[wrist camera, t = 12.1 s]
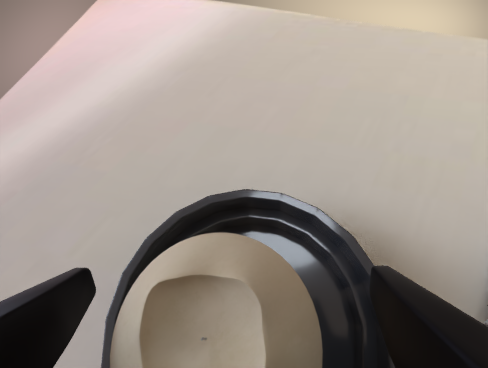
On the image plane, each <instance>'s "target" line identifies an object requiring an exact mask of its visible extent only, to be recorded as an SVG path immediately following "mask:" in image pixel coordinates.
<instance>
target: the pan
mask: <svg viewBox="0 0 488 368" xmlns="http://www.w3.org/2000/svg"><path fill="white" fill-rule="evenodd" d="M208 233H233V234H239V235H243V236H246V237H250V238H252V239H255V240H257V241H259V242H261V243H263V244H265V245H266V246H268V247H270V248H271V249H273V250H274V251H275V252H277V253H278V254H279V255H281V256H282V257H283V258H284V259H285V260H286V261H287V262H288V263H289V264H290V265H291V267H292V268H293V269H294V270H295V272H296V273H297V274H298V275H299V277H300V279H301V280H302V282H303V283H304V285H305V287H306V288H307V290H308V293H309V295H310V297H311V299H312V301H313V304H314V307H315V310H316V313H317V316H318V321H319V326H320V330H321V338H322V349H323V354H322V368H395V366H394V364H393V362H392V359H391V357H390V355H389V352H388V350H387V347H386V344H385V341H384V338H383V335H382V331H381V328H380V325H379V322H378V319H377V316H376V313H375V310H374V307H373V304H372V300H371V297H370V291H369V288H370V275H371V268H372V267H373V266H374V265H373V263H372V262H371V260H370V259H369V257H368V256H367V255H366V253H365V252H364V250H363V249H362V248H361V246H360V245H359V243H358V242H357V241H356V239H355V238H354V236H352V235H351V234H350V233H349V232H348V231H346V230H345V229H344V228H343V227H341V226H340V225H339V224H338V223H336V222H335V221H334V220H333V219H331V218H330V217H329V216H328V215H327V214H325V213H324V212H323V211H322V210H320V209H319V208H317V207H314V206H312V205H310V204H307V203H305V202H302V201H300V200H298V199H295V198H293V197H290V196H288V195H286V194H282V193H276V192H267V191H258V190H249V189H246V190H245V189H243V190H238V191H232V192H227V193H221V194H215V195H210V196H207V197H205V198H203V199H201V200H199V201H197V202H195V203H193V204H191V205H189V206H187V207H185V208H183V209H181V210H179V211H177V212H176V213H174V214H173V215H172V216H171V217H170V218H168V219H167V220H166V221H165V222H164V223H163V224H162V225H160V226H159V227H158V228H157V229H156V230H155V231H154V232H153V233H151V234H150V235H149V236H148V237H147V239H145V240H144V242H143V243H142V245H141V246H140V248H139V249H138V251H137V252H136V254H135V255H134V257H133V258H132V260H131V261H130V263H129V264H128V266H127V267H126V269H125V270H124V271H123V273H122V275H121V278H120V281H119V283H118V286H117V289H116V292H115V295H114V297H113V300H112V303H111V306H110V308H109V311H108V314H107V317H106V318H107V319H106V322H105V333H104V343H103V353H102V363H101V368H110V352H111V343H112V337H113V332H114V328H115V324H116V321H117V318H118V315H119V312H120V309H121V307H122V305H123V302H124V300H125V298H126V296H127V294H128V292H129V291H130V289H131V287H132V285H133V284H134V282H135V281H136V280H137V278H138V277H139V275H140V274H141V273H142V272H143V271H144V270H145V268H146V267H147V266H148V265H149V264H150V263H151V262H152V261H153V260H154V259H155V258H157V257H158V256H159V255H160V254H161V253H163V252H164V251H166V250H167V249H168V248H170V247H172V246H173V245H175V244H177V243H179V242H181V241H183V240H186V239H188V238H191V237H194V236H198V235H202V234H208Z"/></svg>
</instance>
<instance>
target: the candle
mask: <svg viewBox="0 0 488 368" xmlns="http://www.w3.org/2000/svg"><path fill="white" fill-rule="evenodd" d="M322 354H323V349H322V338H321V330H320V326H319V321H318V316H317V313H316V310H315V307H314V304H313V301H312V299H311V297H310V295H309V293H308V290H307V288H306V287H305V285H304V283H303V282H302V280H301V279H300V277H299V275H298V274H297V273H296V272H295V270H294V269H293V268H292V267H291V265H290V264H289V263H288V262H287V261H286V260H285V259H284V258H283V257H282V256H281V255H279V254H278V253H277V252H275V251H274V250H273V249H271V248H270V247H268V246H266V245H265V244H263V243H261V242H259V241H257V240H255V239H252V238H250V237H246V236H243V235H239V234H233V233H208V234H202V235H198V236H194V237H191V238H188V239H186V240H183V241H181V242H179V243H177V244H175V245H173V246H172V247H170V248H168V249H167V250H166V251H164V252H163V253H161V254H160V255H159V256H158V257H157V258H155V259H154V260H153V261H152V262H151V263H150V264H149V265H148V266H147V267H146V268H145V270H144V271H143V272H142V273H141V274H140V275H139V277H138V278H137V280H136V281H135V282H134V284H133V285H132V287H131V289H130V291H129V292H128V294H127V296H126V298H125V300H124V302H123V305H122V307H121V309H120V312H119V315H118V318H117V321H116V324H115V328H114V332H113V337H112V343H111V352H110V368H322Z"/></svg>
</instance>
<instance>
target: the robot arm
mask: <svg viewBox="0 0 488 368" xmlns="http://www.w3.org/2000/svg"><path fill="white" fill-rule="evenodd" d="M369 291H370V297H371V300H372V304H373V307H374V310H375V313H376V316H377V319H378V322H379V325H380V328H381V331H382V335H383V338H384V341H385V344H386V347H387V350H388V352H389V355H390V357H391V359H392V362H393V364H394V366H395V368H488V327H487V326H485V325H484V324H482V323H481V322H479V321H477V320H476V319H474V318H472V317H471V316H469V315H467V314H466V313H464V312H462V311H461V310H459V309H458V308H456V307H454V306H453V305H451V304H449V303H448V302H446V301H444V300H443V299H441V298H439V297H438V296H436V295H435V294H433V293H431V292H430V291H428V290H426V289H425V288H423V287H421V286H420V285H418V284H417V283H415V282H413V281H412V280H410V279H408V278H407V277H405V276H403V275H402V274H400V273H398V272H397V271H395V270H394V269H392V268H390V267H388V266H373V267H372V268H371V275H370V288H369ZM95 293H96V287H95V284H94V281H93V277H92V274H91V271H90V270H89V269H88V268H74V269H72V270H70V271H67V272H65V273H63V274H61V275H58V276H56V277H54V278H52V279H50V280H47V281H45V282H43V283H41V284H38V285H36V286H34V287H32V288H30V289H27V290H25V291H23V292H21V293H18V294H16V295H14V296H12V297H10V298H7V299H5V300H3V301H1V302H0V368H53V367H54V365H55V364H56V362H57V361H58V359H59V358H60V356H61V355H62V353H63V351H64V350H65V348H66V347H67V345H68V343H69V342H70V340H71V338H72V337H73V335H74V333H75V331H76V329H77V328H78V326H79V324H80V322H81V320H82V318H83V316H84V315H85V313H86V311H87V309H88V307H89V305H90V303H91V301H92V300H93V298H94V296H95Z"/></svg>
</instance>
